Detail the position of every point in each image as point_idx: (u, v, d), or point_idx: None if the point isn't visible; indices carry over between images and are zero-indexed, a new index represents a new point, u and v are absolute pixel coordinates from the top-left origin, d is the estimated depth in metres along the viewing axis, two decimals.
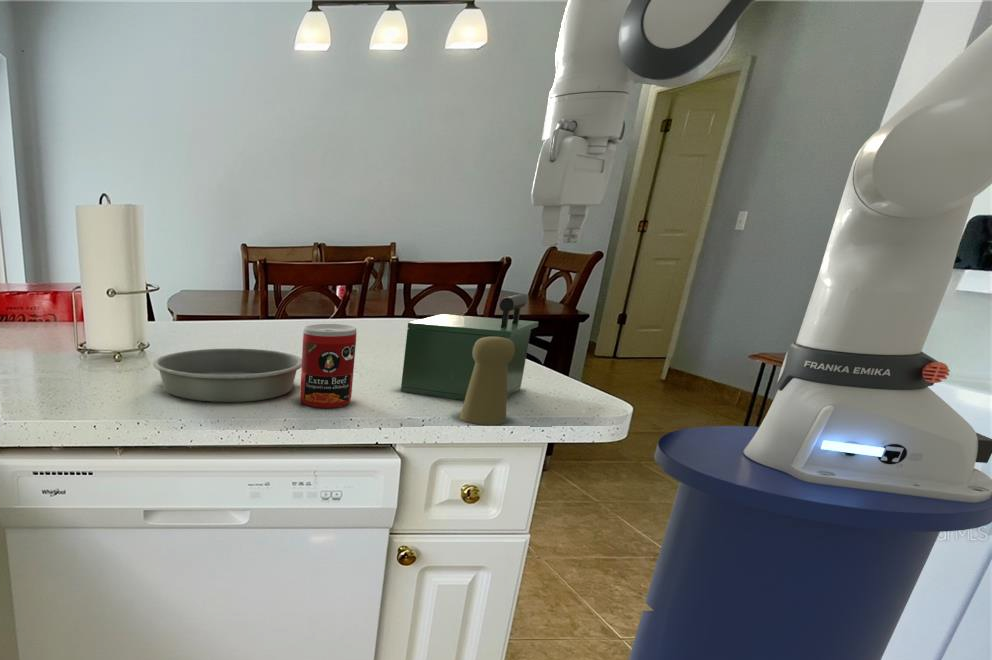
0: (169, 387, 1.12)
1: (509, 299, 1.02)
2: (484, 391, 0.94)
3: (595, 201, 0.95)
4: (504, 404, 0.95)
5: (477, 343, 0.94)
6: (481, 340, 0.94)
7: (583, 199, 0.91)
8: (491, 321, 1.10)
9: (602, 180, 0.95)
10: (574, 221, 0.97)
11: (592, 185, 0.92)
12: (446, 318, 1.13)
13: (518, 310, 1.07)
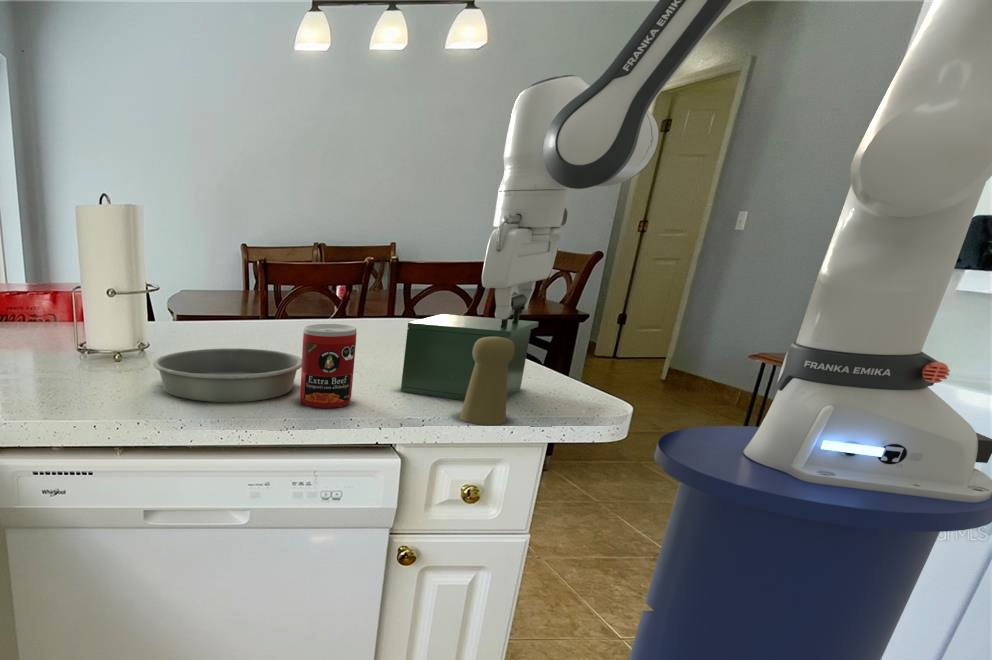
0: (169, 387, 1.12)
1: None
2: (484, 391, 0.94)
3: (543, 276, 1.07)
4: (504, 404, 0.95)
5: (477, 343, 0.94)
6: (481, 340, 0.94)
7: (530, 278, 1.02)
8: (491, 321, 1.10)
9: (549, 258, 1.06)
10: None
11: (539, 264, 1.04)
12: (446, 318, 1.13)
13: (518, 310, 1.07)
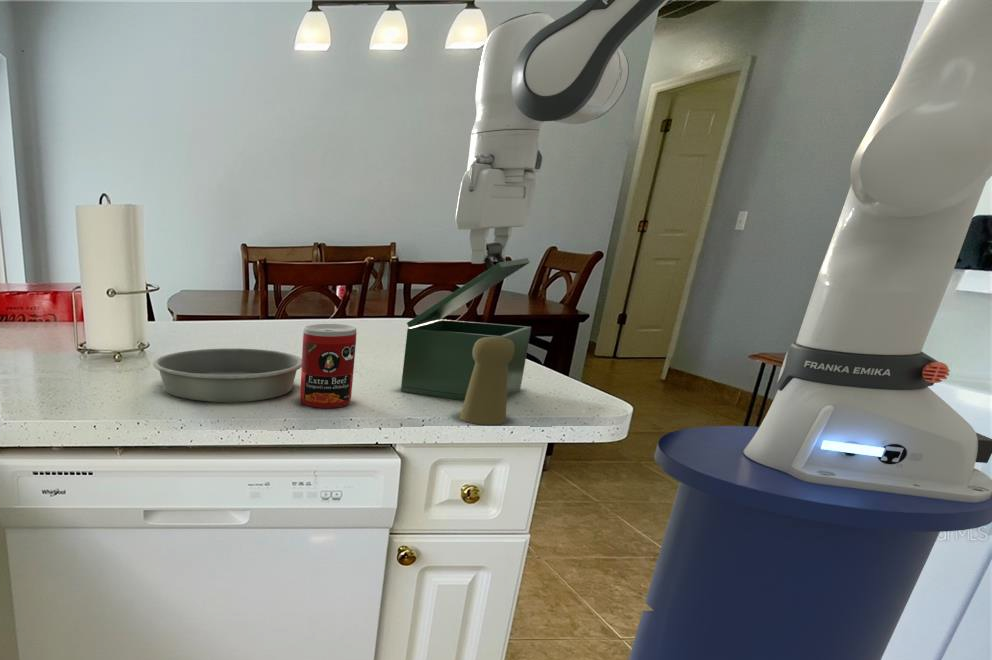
0: (169, 387, 1.12)
1: None
2: (484, 391, 0.94)
3: (519, 223, 1.06)
4: (504, 404, 0.95)
5: (477, 343, 0.94)
6: (481, 340, 0.94)
7: (505, 222, 1.02)
8: None
9: (525, 204, 1.06)
10: (499, 241, 1.07)
11: (514, 209, 1.03)
12: None
13: (500, 256, 1.06)
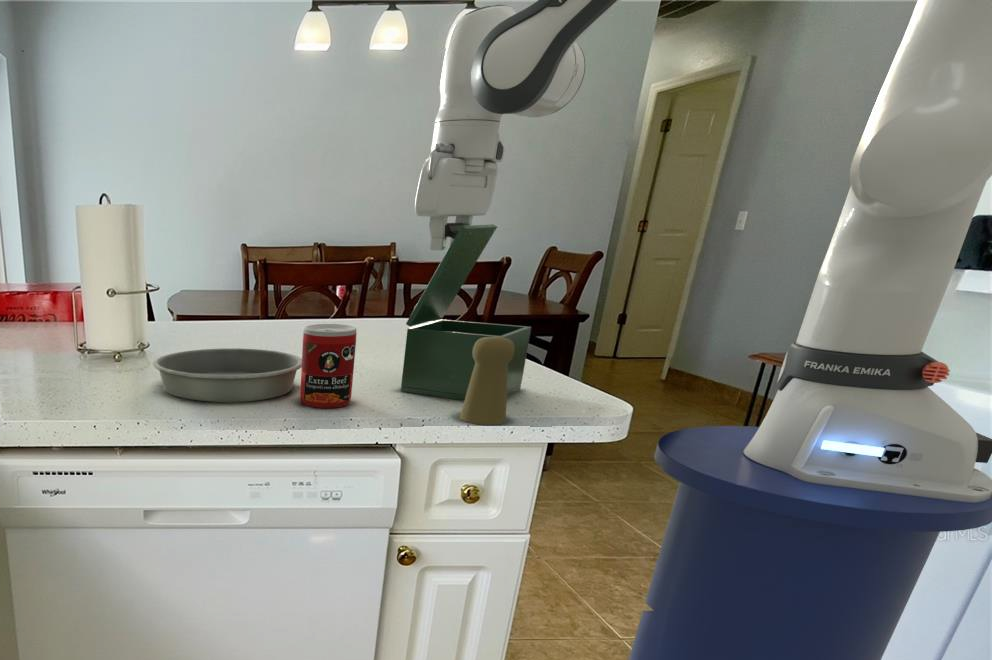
0: (169, 387, 1.12)
1: None
2: (484, 391, 0.94)
3: (480, 212, 1.09)
4: (504, 404, 0.95)
5: (477, 343, 0.94)
6: (481, 340, 0.94)
7: (464, 211, 1.05)
8: None
9: (486, 194, 1.09)
10: None
11: (474, 198, 1.06)
12: None
13: None
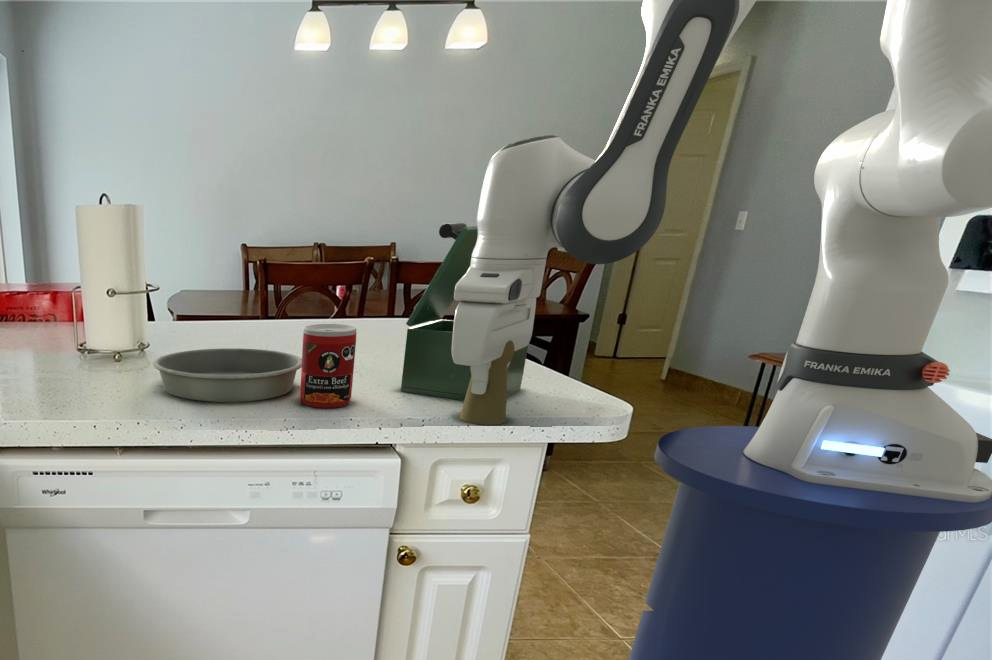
0: (169, 387, 1.12)
1: (442, 226, 1.05)
2: None
3: None
4: (504, 404, 0.95)
5: None
6: None
7: None
8: None
9: None
10: None
11: None
12: None
13: None
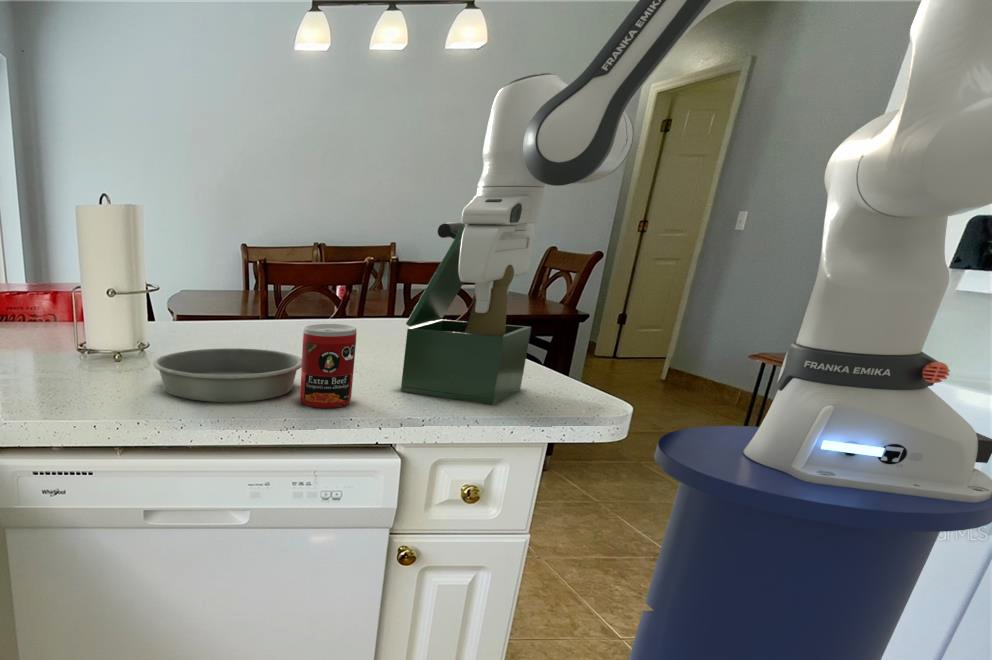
0: (169, 387, 1.12)
1: (440, 226, 1.05)
2: None
3: None
4: (504, 323, 1.06)
5: None
6: None
7: None
8: None
9: None
10: None
11: None
12: None
13: None
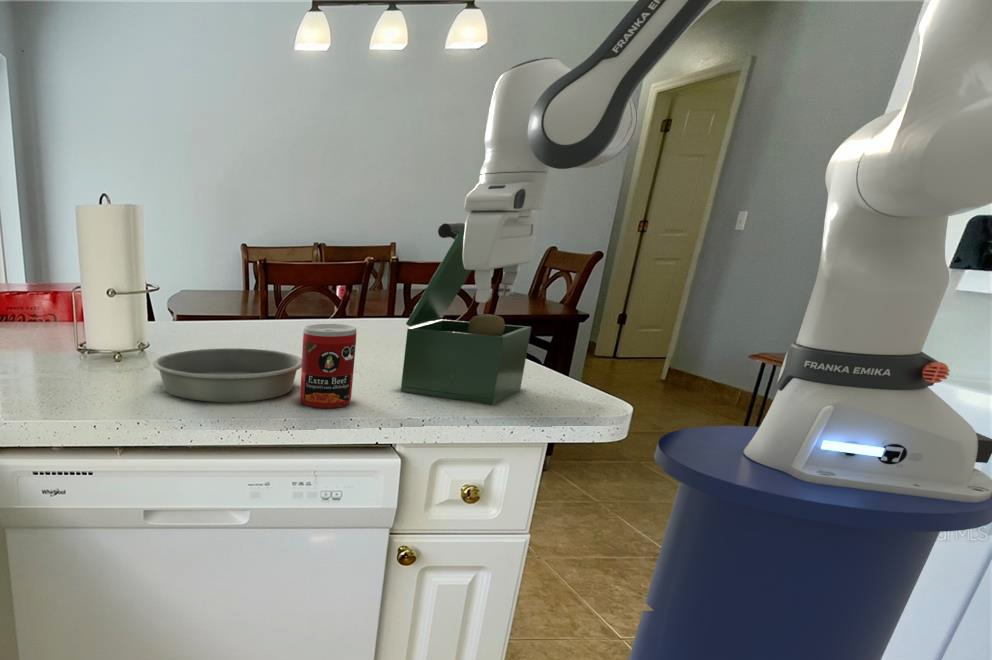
0: (169, 387, 1.12)
1: (441, 226, 1.05)
2: None
3: None
4: None
5: (472, 320, 1.08)
6: (475, 317, 1.07)
7: None
8: None
9: None
10: None
11: None
12: None
13: None
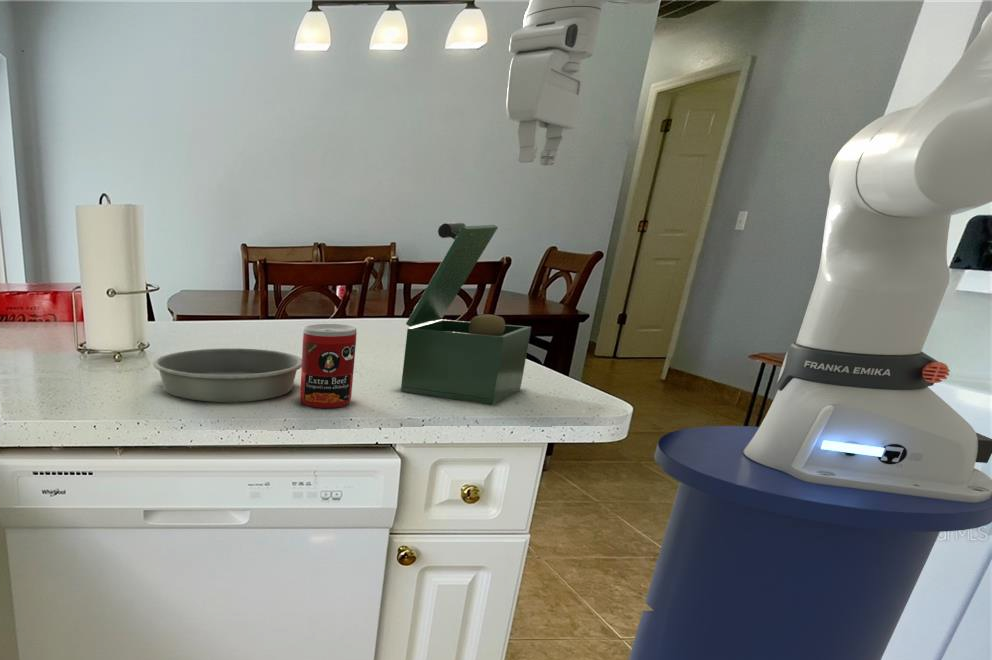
0: (169, 387, 1.12)
1: (441, 226, 1.05)
2: None
3: None
4: None
5: (472, 320, 1.08)
6: (476, 317, 1.07)
7: None
8: None
9: None
10: None
11: None
12: None
13: None
